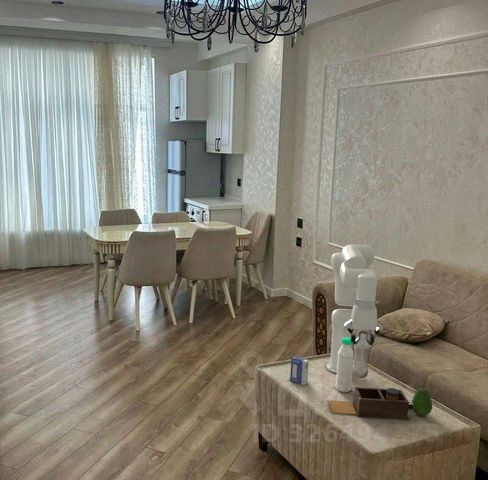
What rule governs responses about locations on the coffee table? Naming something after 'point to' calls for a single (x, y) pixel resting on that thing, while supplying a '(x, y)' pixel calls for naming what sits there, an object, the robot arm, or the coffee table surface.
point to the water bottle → (344, 366)
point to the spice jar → (392, 394)
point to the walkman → (299, 370)
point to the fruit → (422, 402)
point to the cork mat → (342, 407)
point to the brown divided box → (379, 404)
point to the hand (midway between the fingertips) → (362, 343)
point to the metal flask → (361, 355)
